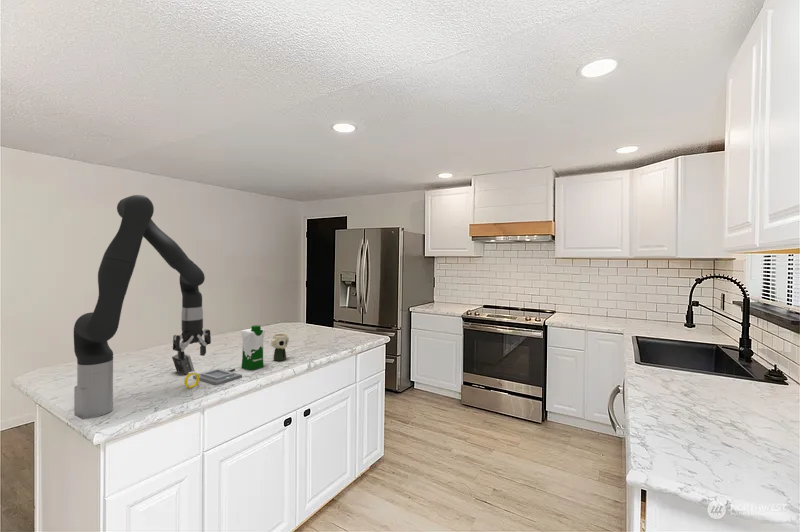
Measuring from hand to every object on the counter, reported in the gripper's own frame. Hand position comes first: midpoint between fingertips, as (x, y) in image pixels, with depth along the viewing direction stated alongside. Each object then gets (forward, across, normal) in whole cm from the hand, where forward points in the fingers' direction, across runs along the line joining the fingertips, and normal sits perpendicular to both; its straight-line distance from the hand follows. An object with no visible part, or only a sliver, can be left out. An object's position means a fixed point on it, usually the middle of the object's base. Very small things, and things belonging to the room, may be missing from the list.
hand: (192, 357), depth 148 cm
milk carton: (+12, +30, +1) cm, 32 cm away
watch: (+12, 0, 0) cm, 12 cm away
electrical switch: (+12, +8, +19) cm, 24 cm away
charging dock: (+12, +14, +1) cm, 18 cm away
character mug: (+12, +46, 0) cm, 47 cm away
